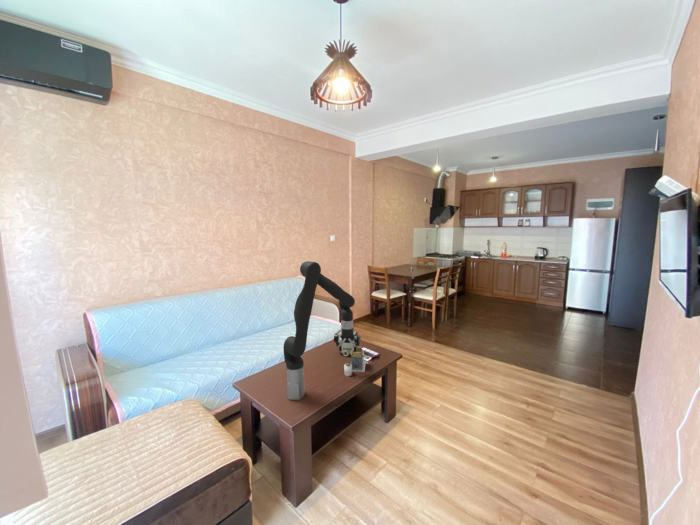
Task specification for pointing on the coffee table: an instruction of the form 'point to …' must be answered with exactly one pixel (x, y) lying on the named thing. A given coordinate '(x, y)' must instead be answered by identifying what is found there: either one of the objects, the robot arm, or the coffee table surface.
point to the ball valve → (346, 344)
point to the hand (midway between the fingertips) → (347, 351)
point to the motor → (357, 360)
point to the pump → (348, 369)
